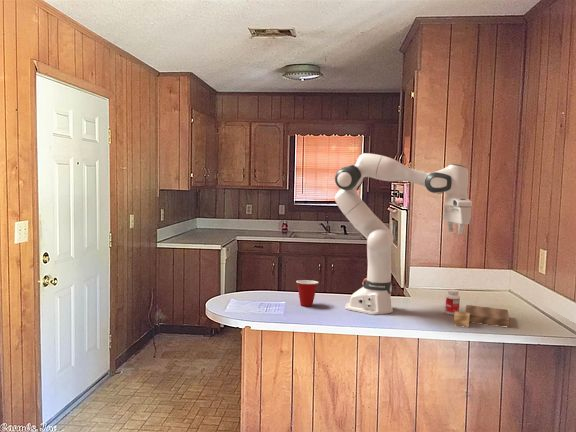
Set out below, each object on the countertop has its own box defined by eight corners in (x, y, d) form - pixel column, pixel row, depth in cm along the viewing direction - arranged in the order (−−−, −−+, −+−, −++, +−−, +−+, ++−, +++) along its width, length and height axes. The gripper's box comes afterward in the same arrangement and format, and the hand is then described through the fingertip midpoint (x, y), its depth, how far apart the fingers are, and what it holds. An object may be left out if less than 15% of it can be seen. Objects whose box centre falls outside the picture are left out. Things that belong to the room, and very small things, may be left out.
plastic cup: (318, 302, 241) (318, 279, 240) (317, 308, 231) (318, 283, 230) (296, 301, 242) (297, 277, 241) (294, 307, 232) (295, 282, 231)
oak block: (453, 325, 210) (454, 314, 210) (454, 322, 216) (455, 311, 215) (468, 327, 208) (469, 316, 207) (469, 324, 213) (469, 313, 213)
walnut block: (464, 323, 216) (464, 314, 216) (465, 313, 233) (466, 304, 232) (508, 329, 209) (509, 319, 209) (507, 318, 226) (507, 309, 225)
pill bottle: (443, 311, 232) (444, 288, 231) (455, 311, 233) (456, 288, 232) (448, 315, 226) (449, 291, 225) (461, 315, 226) (462, 292, 226)
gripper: (440, 200, 223) (438, 230, 224) (459, 202, 202) (458, 235, 203) (453, 200, 223) (452, 230, 224) (474, 202, 203) (472, 235, 204)
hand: (455, 233), depth 214 cm, fingers open, 8 cm apart
